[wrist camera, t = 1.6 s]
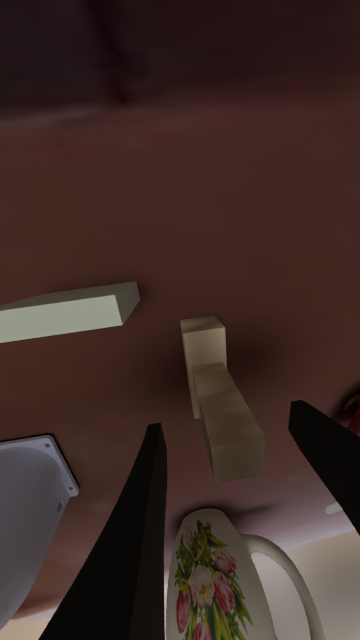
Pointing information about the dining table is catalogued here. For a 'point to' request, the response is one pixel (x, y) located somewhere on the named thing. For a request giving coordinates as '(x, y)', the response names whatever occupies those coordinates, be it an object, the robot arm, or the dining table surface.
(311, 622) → the pitcher
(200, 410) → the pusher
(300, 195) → the dining table surface
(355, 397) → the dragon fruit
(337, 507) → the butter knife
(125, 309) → the tile
